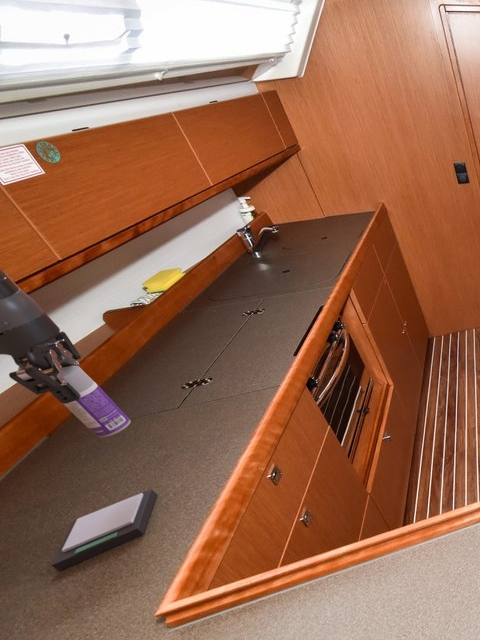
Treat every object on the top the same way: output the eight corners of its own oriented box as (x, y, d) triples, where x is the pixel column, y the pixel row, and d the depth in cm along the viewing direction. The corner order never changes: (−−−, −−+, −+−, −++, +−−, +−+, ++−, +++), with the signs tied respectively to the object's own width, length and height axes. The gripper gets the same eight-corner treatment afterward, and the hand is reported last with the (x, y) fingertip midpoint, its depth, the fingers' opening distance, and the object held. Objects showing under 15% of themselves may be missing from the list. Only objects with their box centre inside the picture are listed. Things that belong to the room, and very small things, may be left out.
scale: (59, 571, 74) (48, 564, 73) (81, 526, 81) (71, 518, 80) (144, 534, 79) (135, 526, 78) (158, 494, 86) (149, 487, 85)
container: (131, 415, 85) (81, 361, 78) (130, 428, 83) (78, 373, 75) (97, 428, 83) (42, 373, 75) (95, 442, 80) (37, 386, 72)
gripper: (-7, 308, 72) (63, 379, 80) (-57, 350, 62) (29, 426, 70) (58, 295, 76) (118, 363, 84) (21, 332, 66) (94, 406, 74)
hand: (77, 392), depth 77 cm, fingers closed on container, 4 cm apart
